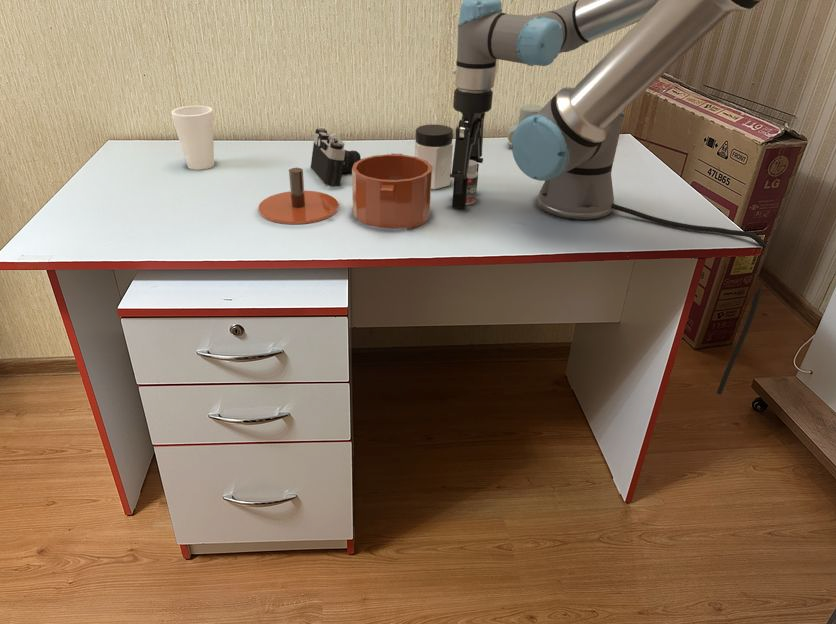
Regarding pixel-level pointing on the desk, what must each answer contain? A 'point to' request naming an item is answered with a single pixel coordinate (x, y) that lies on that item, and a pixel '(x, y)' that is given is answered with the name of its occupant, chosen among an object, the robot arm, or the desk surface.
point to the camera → (331, 158)
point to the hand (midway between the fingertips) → (464, 199)
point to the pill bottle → (471, 182)
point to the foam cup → (195, 135)
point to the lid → (298, 203)
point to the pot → (392, 191)
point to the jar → (436, 152)
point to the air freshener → (523, 117)
